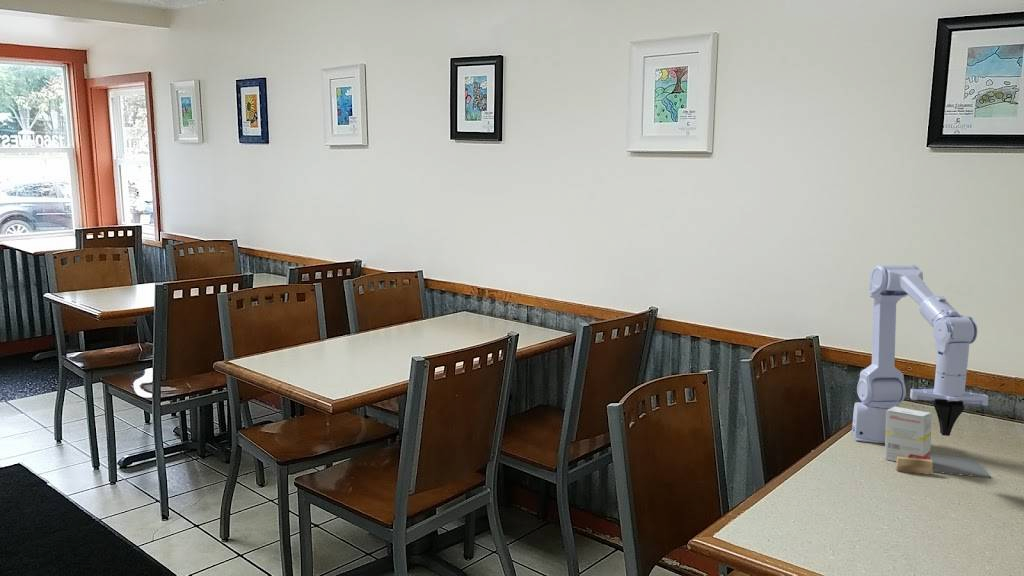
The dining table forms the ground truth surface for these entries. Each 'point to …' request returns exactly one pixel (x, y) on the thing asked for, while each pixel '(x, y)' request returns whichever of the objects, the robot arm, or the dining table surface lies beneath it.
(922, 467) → the rail bay
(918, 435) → the ink box
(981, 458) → the dining table surface
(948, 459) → the rubber mat
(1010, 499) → the dining table surface
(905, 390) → the robot arm
